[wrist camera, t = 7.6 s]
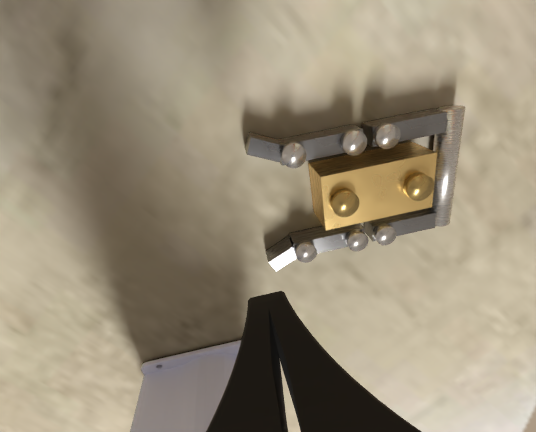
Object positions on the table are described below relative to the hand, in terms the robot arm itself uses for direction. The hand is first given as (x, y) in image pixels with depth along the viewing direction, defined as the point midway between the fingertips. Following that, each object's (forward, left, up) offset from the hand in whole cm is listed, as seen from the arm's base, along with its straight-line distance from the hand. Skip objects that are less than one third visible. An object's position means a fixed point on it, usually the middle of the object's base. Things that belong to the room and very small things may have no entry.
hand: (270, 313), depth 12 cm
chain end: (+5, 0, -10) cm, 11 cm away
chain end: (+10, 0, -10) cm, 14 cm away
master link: (+8, 0, -10) cm, 13 cm away
